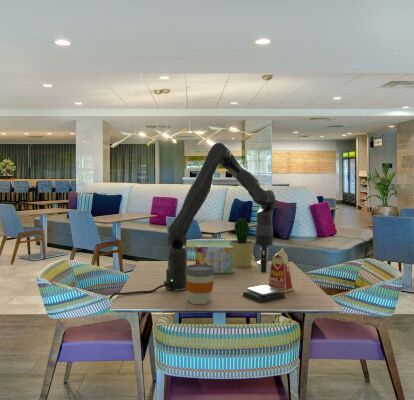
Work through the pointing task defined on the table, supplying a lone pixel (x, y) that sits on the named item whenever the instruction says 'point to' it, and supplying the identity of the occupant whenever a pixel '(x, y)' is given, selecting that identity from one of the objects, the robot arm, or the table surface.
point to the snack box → (215, 257)
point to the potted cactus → (242, 245)
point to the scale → (263, 298)
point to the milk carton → (280, 272)
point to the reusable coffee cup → (199, 283)
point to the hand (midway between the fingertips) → (264, 270)
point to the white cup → (268, 268)
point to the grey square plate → (264, 290)
